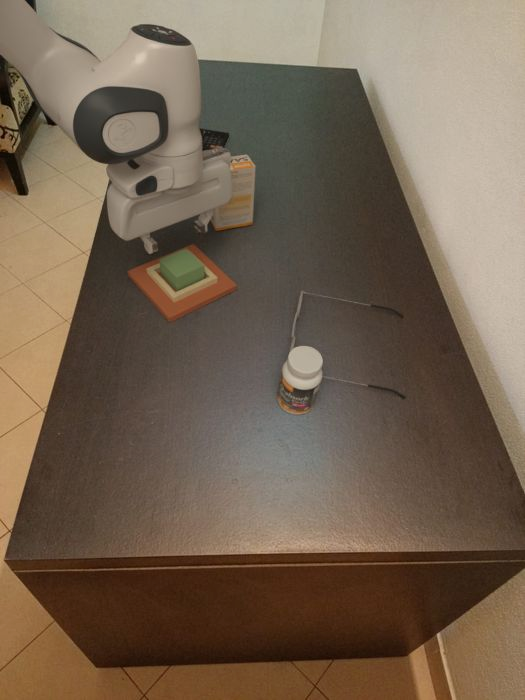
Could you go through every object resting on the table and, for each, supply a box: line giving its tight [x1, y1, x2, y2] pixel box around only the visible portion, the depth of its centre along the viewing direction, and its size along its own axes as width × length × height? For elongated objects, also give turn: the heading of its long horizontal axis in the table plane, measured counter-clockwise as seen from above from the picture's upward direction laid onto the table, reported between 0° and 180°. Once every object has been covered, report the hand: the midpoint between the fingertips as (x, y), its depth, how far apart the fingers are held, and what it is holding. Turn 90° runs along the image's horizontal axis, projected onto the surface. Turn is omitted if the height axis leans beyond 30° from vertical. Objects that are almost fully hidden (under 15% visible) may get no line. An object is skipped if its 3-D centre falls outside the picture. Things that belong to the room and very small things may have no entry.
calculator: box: [199, 127, 230, 151], centre depth 116 cm, size 9×12×3 cm
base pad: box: [127, 243, 238, 323], centre depth 83 cm, size 14×14×2 cm
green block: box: [159, 248, 205, 292], centre depth 82 cm, size 6×6×4 cm
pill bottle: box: [276, 345, 324, 416], centre depth 66 cm, size 6×6×10 cm
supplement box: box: [209, 154, 257, 232], centre depth 92 cm, size 8×5×13 cm, turn 111°
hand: (176, 240), depth 77 cm, fingers open, 8 cm apart
